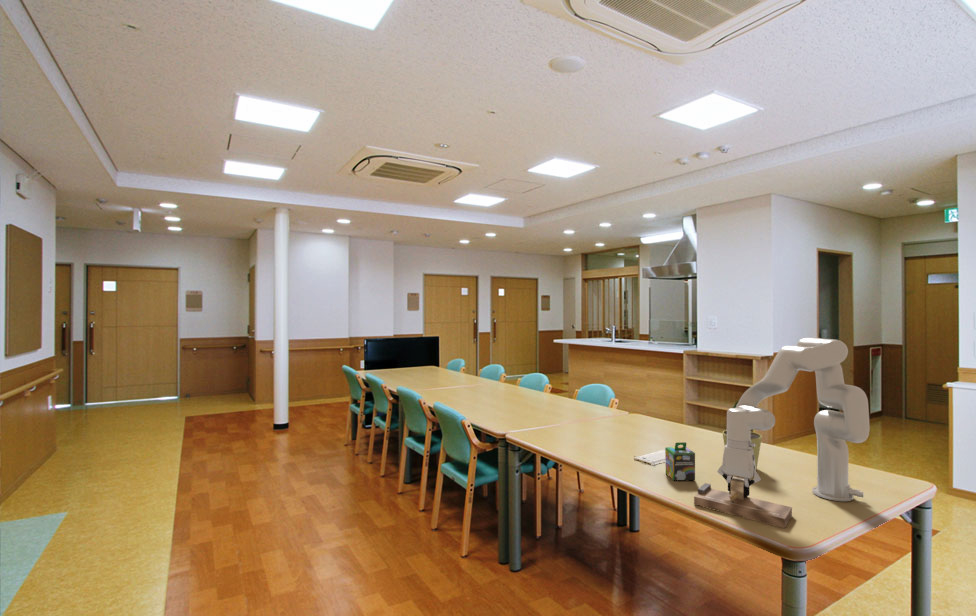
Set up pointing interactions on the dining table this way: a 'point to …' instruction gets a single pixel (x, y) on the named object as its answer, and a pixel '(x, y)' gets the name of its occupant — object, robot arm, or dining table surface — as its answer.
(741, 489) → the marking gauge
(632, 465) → the dining table surface
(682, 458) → the chalk box
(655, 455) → the baseboard molding
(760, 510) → the walnut board
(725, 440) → the potted cactus
